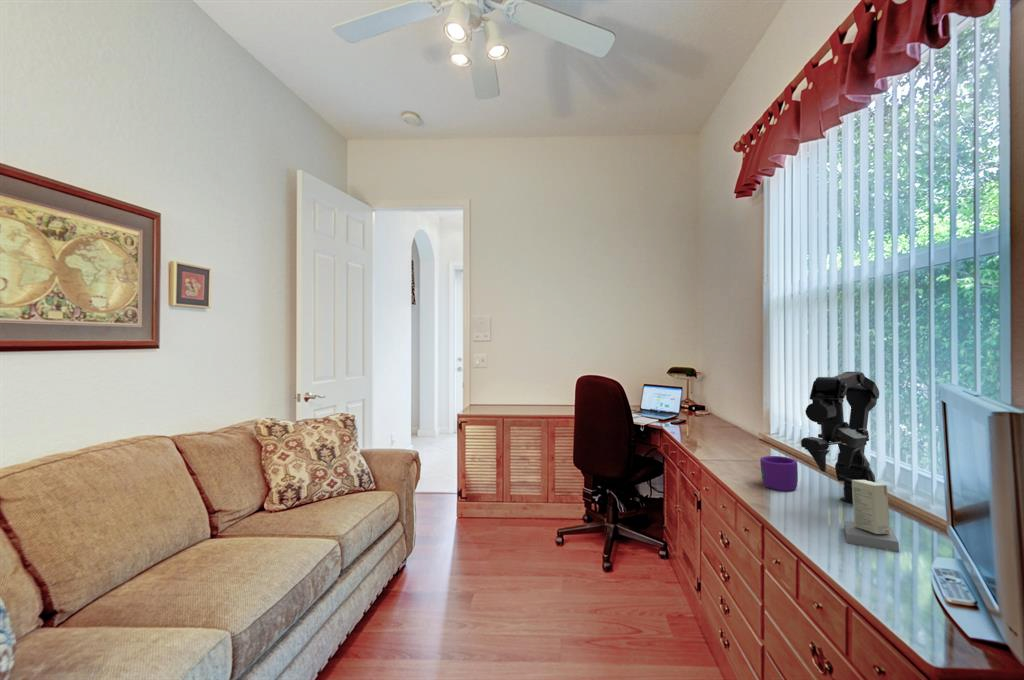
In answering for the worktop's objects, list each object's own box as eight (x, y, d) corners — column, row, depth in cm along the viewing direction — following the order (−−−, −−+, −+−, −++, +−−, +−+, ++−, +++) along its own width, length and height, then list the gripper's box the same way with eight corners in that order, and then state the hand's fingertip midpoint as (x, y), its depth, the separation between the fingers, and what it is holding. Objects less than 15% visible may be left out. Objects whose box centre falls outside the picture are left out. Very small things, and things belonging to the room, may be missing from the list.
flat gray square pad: (844, 531, 119) (843, 520, 119) (892, 538, 113) (891, 527, 113) (847, 545, 110) (846, 533, 110) (899, 554, 105) (898, 541, 105)
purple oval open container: (800, 494, 146) (799, 464, 147) (762, 490, 152) (760, 462, 152) (795, 479, 162) (793, 453, 162) (760, 476, 167) (758, 451, 167)
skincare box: (890, 534, 109) (889, 485, 110) (876, 535, 108) (875, 485, 109) (865, 525, 115) (864, 478, 116) (852, 525, 114) (850, 479, 115)
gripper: (833, 425, 120) (836, 481, 119) (883, 419, 124) (887, 473, 124) (797, 419, 131) (801, 470, 130) (845, 414, 135) (849, 464, 135)
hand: (835, 469), depth 129 cm, fingers open, 9 cm apart
